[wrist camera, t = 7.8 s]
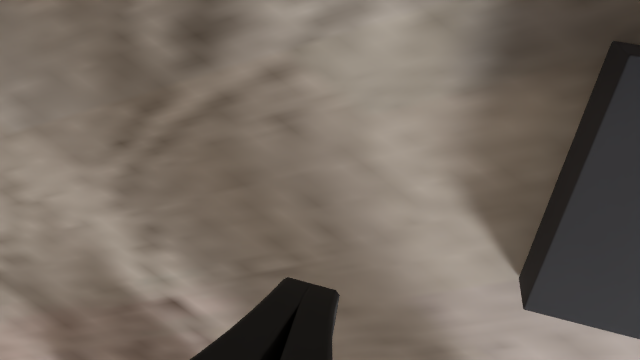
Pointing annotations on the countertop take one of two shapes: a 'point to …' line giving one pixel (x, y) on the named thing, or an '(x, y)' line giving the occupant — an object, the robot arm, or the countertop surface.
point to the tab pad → (595, 212)
